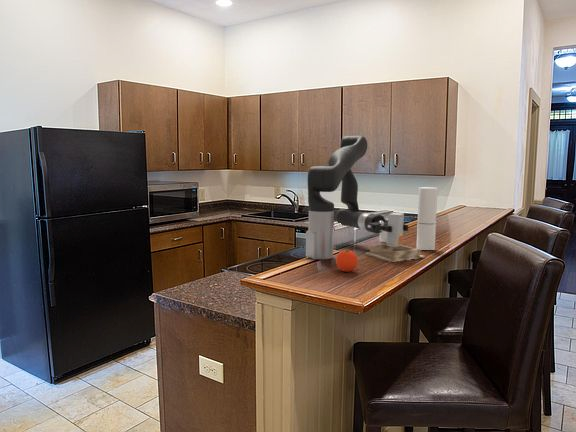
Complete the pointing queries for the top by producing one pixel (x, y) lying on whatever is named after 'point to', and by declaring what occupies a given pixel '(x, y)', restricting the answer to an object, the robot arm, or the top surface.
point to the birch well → (394, 253)
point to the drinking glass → (383, 235)
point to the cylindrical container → (426, 218)
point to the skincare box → (395, 229)
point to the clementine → (346, 260)
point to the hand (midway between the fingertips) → (399, 228)
